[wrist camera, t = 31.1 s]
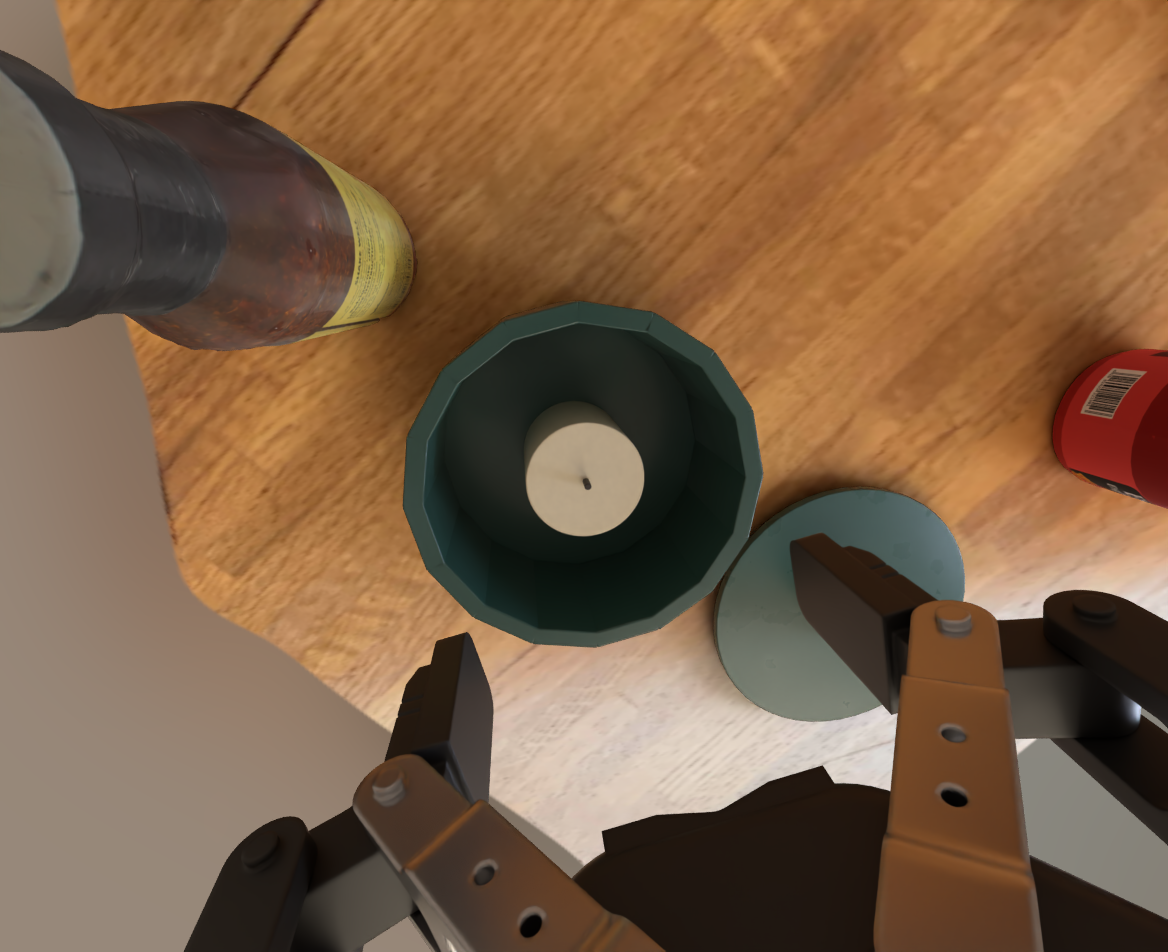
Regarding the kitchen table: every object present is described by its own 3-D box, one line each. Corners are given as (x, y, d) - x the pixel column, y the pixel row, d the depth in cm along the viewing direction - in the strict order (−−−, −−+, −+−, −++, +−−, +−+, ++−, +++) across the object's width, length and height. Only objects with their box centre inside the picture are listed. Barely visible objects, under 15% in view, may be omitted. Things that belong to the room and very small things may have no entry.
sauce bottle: (370, 157, 25) (-48, -259, 7) (447, 287, 27) (294, 255, 8) (245, 231, 26) (-498, 37, 7) (330, 354, 28) (-69, 468, 9)
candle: (511, 416, 29) (510, 445, 23) (609, 389, 29) (633, 411, 23) (539, 507, 31) (544, 557, 25) (631, 481, 31) (660, 525, 25)
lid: (687, 525, 33) (737, 589, 25) (944, 451, 33) (1067, 494, 26) (733, 737, 37) (786, 843, 30) (956, 670, 38) (1062, 758, 31)
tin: (389, 347, 28) (346, 362, 21) (675, 270, 28) (729, 259, 21) (480, 601, 32) (470, 685, 25) (725, 530, 33) (783, 594, 26)
